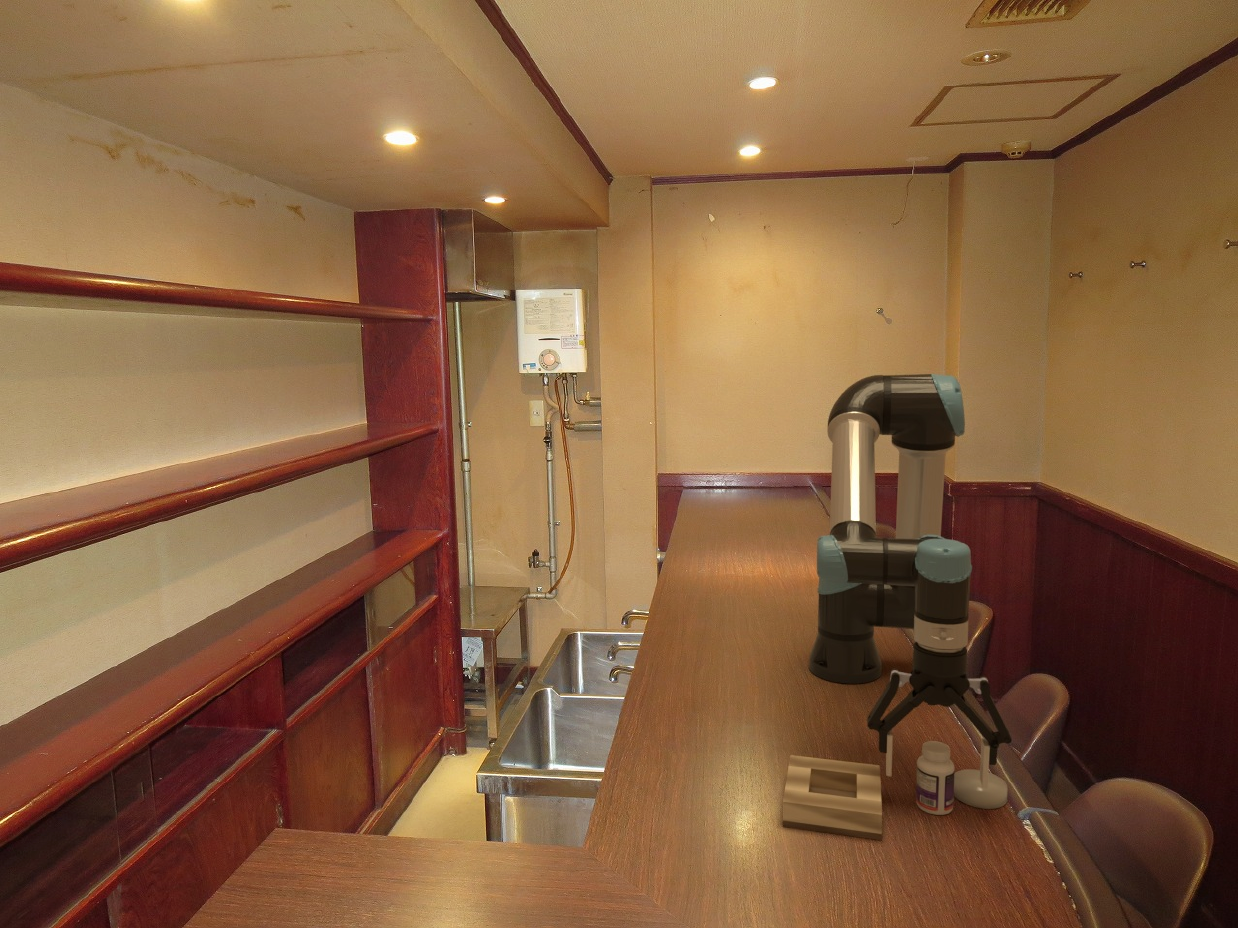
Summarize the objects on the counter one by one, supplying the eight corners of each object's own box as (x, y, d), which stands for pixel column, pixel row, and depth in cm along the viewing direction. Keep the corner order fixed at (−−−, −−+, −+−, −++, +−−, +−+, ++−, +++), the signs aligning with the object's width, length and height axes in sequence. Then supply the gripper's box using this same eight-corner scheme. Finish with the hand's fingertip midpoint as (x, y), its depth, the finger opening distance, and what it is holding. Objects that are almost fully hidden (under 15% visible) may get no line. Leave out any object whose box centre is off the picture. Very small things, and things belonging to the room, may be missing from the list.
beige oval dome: (948, 777, 133) (949, 766, 133) (1002, 784, 131) (1002, 772, 131) (954, 804, 126) (954, 792, 125) (1011, 811, 123) (1011, 799, 123)
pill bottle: (943, 795, 128) (946, 737, 127) (959, 815, 123) (961, 755, 121) (909, 796, 128) (911, 738, 127) (923, 816, 123) (926, 756, 121)
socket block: (790, 777, 135) (790, 754, 134) (879, 788, 131) (879, 765, 130) (782, 826, 121) (782, 801, 121) (881, 840, 117) (882, 814, 117)
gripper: (853, 646, 121) (850, 779, 124) (1037, 660, 114) (1030, 801, 117) (853, 629, 129) (850, 755, 132) (1027, 641, 122) (1020, 775, 125)
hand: (935, 777), depth 125 cm, fingers open, 13 cm apart
